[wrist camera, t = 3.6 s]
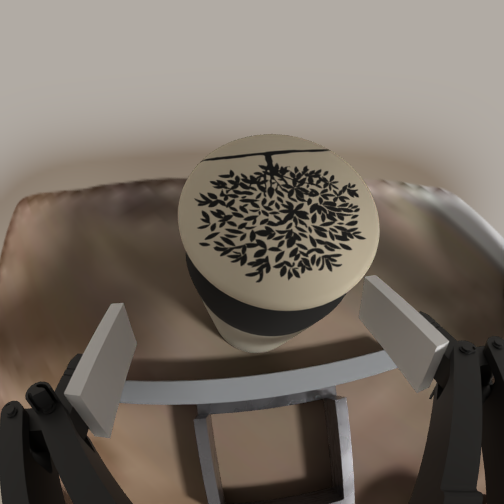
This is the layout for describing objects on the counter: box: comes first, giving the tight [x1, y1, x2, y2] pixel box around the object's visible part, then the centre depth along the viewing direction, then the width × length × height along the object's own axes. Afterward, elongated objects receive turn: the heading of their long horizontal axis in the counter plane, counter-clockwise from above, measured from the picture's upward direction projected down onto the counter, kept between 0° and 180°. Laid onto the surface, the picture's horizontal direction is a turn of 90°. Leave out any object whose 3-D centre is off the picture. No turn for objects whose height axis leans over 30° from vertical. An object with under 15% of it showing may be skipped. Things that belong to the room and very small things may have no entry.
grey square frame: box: [194, 385, 355, 504], centre depth 18 cm, size 12×12×4 cm
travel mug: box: [178, 134, 380, 353], centre depth 18 cm, size 8×8×18 cm
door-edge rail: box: [119, 350, 398, 405], centre depth 22 cm, size 28×2×3 cm, turn 97°
